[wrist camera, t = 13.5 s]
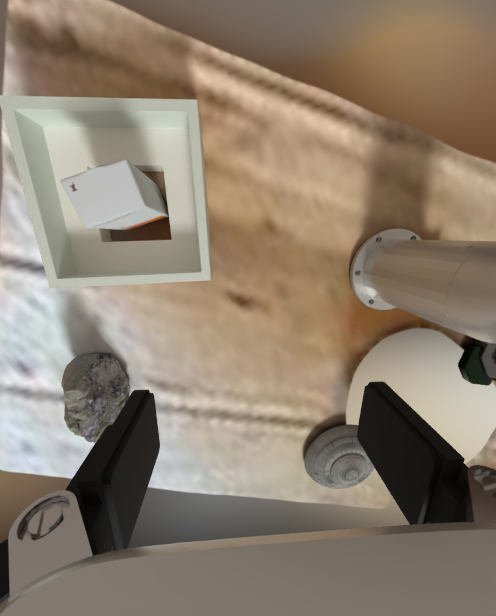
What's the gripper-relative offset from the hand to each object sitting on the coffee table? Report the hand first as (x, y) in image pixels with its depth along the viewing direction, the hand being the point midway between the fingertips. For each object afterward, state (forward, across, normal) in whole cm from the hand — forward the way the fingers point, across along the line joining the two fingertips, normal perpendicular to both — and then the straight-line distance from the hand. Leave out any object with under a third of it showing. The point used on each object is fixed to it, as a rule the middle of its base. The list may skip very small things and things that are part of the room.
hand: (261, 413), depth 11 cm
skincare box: (+27, +13, -11) cm, 32 cm away
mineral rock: (+27, +22, +16) cm, 38 cm away
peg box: (+27, +13, -11) cm, 32 cm away
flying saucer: (+29, -20, +34) cm, 49 cm away
